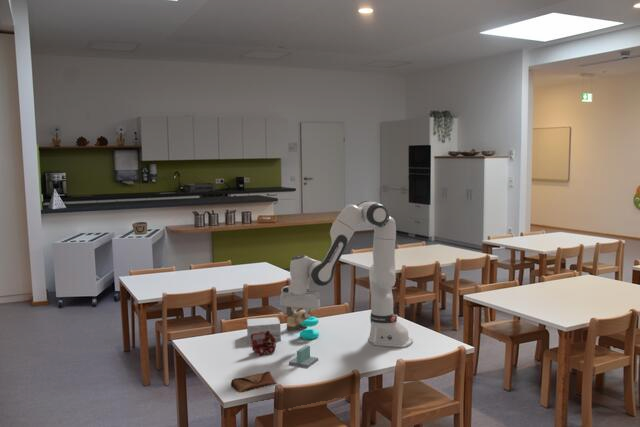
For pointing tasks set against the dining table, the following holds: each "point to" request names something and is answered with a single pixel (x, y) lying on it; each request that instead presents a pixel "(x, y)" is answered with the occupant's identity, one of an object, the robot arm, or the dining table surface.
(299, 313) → the oak bar
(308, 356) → the fulcrum
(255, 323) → the supplement box
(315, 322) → the donuts
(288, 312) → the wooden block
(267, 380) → the sunglasses case
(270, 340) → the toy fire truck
